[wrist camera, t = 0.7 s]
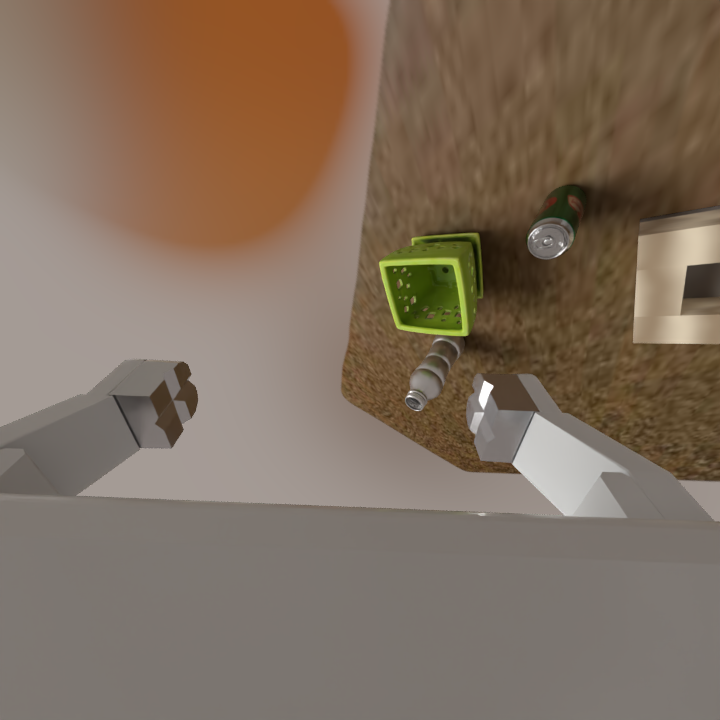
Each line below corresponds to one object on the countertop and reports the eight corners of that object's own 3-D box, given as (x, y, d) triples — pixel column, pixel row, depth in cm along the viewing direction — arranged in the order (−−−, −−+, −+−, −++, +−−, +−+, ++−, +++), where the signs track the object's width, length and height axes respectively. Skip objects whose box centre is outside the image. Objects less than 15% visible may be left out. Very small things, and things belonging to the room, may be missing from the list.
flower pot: (489, 219, 51) (461, 257, 44) (493, 296, 60) (470, 339, 52) (409, 228, 59) (375, 261, 52) (423, 294, 68) (394, 331, 61)
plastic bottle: (464, 324, 67) (424, 392, 56) (470, 350, 71) (434, 419, 59) (435, 324, 71) (393, 388, 60) (443, 348, 75) (404, 413, 63)
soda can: (590, 215, 44) (577, 256, 37) (548, 227, 48) (529, 266, 41) (583, 177, 42) (568, 213, 35) (540, 192, 45) (519, 228, 39)
